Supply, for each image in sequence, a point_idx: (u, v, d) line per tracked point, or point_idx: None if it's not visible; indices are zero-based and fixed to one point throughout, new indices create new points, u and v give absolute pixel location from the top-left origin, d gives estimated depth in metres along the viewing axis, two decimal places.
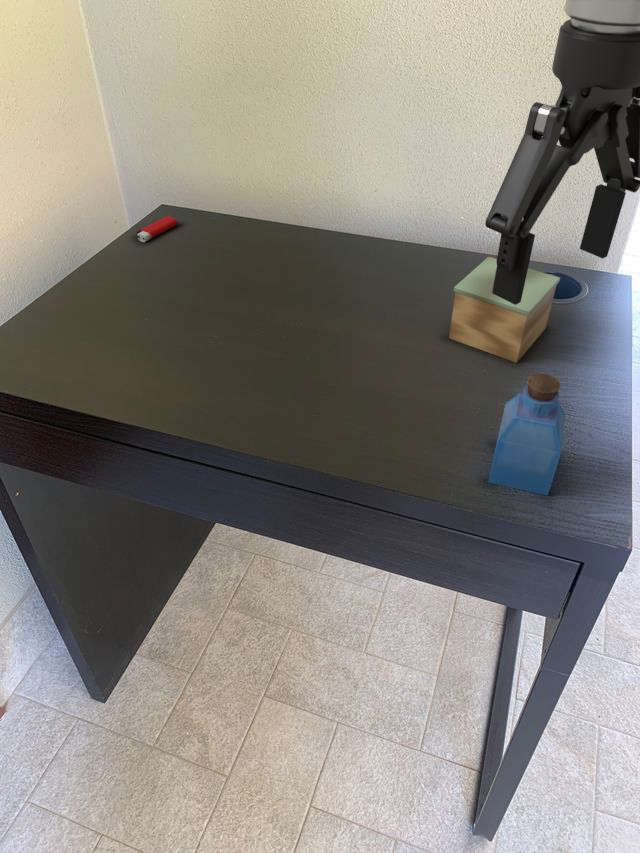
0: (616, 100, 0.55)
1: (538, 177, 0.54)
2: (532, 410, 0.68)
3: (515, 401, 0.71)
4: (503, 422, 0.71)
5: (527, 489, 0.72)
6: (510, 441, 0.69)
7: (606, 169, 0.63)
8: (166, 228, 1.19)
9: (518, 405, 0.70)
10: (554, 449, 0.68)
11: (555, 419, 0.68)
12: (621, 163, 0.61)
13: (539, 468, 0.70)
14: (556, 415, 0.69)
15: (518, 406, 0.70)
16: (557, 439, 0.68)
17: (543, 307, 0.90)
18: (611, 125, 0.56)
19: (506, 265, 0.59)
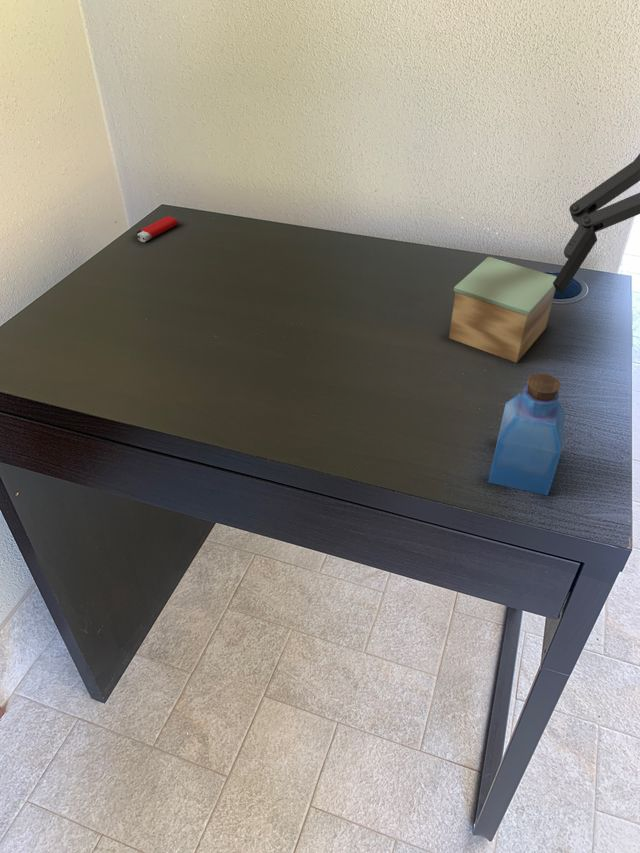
0: None
1: (614, 182, 0.70)
2: (532, 410, 0.68)
3: (515, 401, 0.71)
4: (503, 422, 0.71)
5: (527, 489, 0.72)
6: (510, 441, 0.69)
7: None
8: (166, 228, 1.19)
9: (518, 405, 0.70)
10: (554, 449, 0.68)
11: (555, 419, 0.68)
12: None
13: (539, 468, 0.70)
14: (556, 415, 0.69)
15: (518, 406, 0.70)
16: (557, 439, 0.68)
17: (543, 307, 0.90)
18: None
19: None
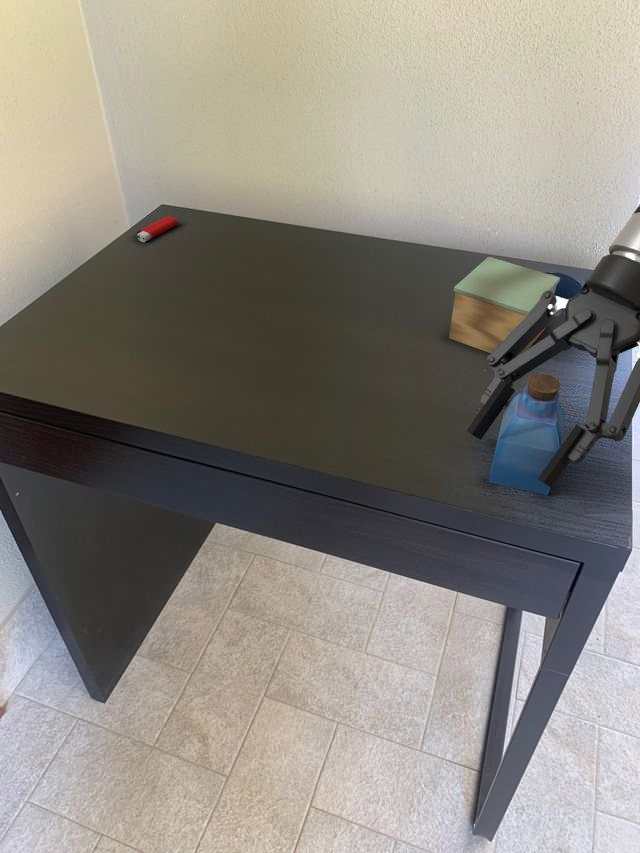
0: (619, 318, 0.67)
1: (521, 330, 0.72)
2: (532, 410, 0.68)
3: (515, 401, 0.71)
4: (503, 422, 0.71)
5: (527, 488, 0.72)
6: (510, 441, 0.69)
7: None
8: (166, 228, 1.19)
9: (518, 405, 0.70)
10: (554, 449, 0.68)
11: (555, 419, 0.68)
12: (594, 388, 0.67)
13: (539, 468, 0.70)
14: (556, 415, 0.69)
15: (519, 406, 0.70)
16: (557, 439, 0.68)
17: None
18: None
19: None
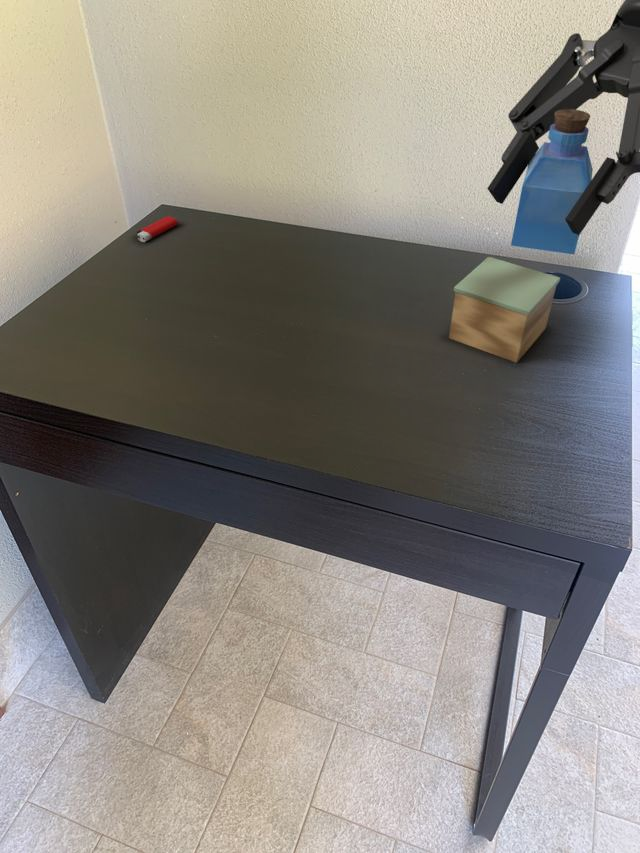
0: None
1: (546, 78, 0.68)
2: (559, 147, 0.63)
3: (540, 149, 0.66)
4: (527, 172, 0.66)
5: (552, 248, 0.68)
6: (535, 185, 0.65)
7: None
8: (166, 228, 1.19)
9: (544, 149, 0.65)
10: (583, 190, 0.64)
11: (584, 157, 0.64)
12: (626, 118, 0.62)
13: None
14: (585, 155, 0.64)
15: (544, 150, 0.65)
16: (586, 177, 0.63)
17: (543, 307, 0.90)
18: None
19: None
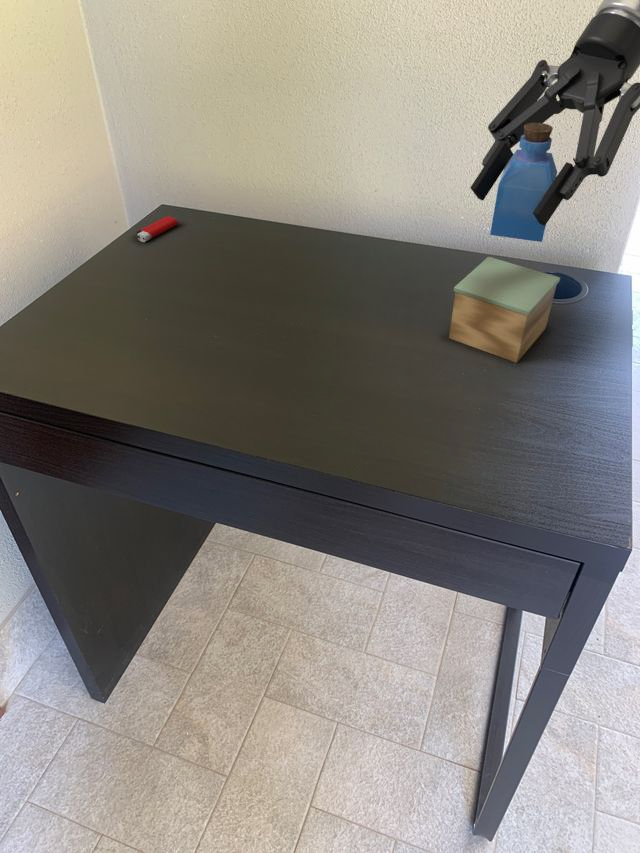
0: (604, 70, 0.77)
1: (519, 97, 0.82)
2: (528, 154, 0.78)
3: (513, 155, 0.81)
4: (503, 174, 0.81)
5: (524, 237, 0.82)
6: (509, 185, 0.79)
7: None
8: (166, 228, 1.19)
9: (516, 155, 0.80)
10: (547, 188, 0.78)
11: (548, 162, 0.78)
12: (582, 130, 0.76)
13: None
14: (549, 160, 0.78)
15: (516, 156, 0.79)
16: (550, 178, 0.78)
17: (543, 307, 0.90)
18: None
19: None
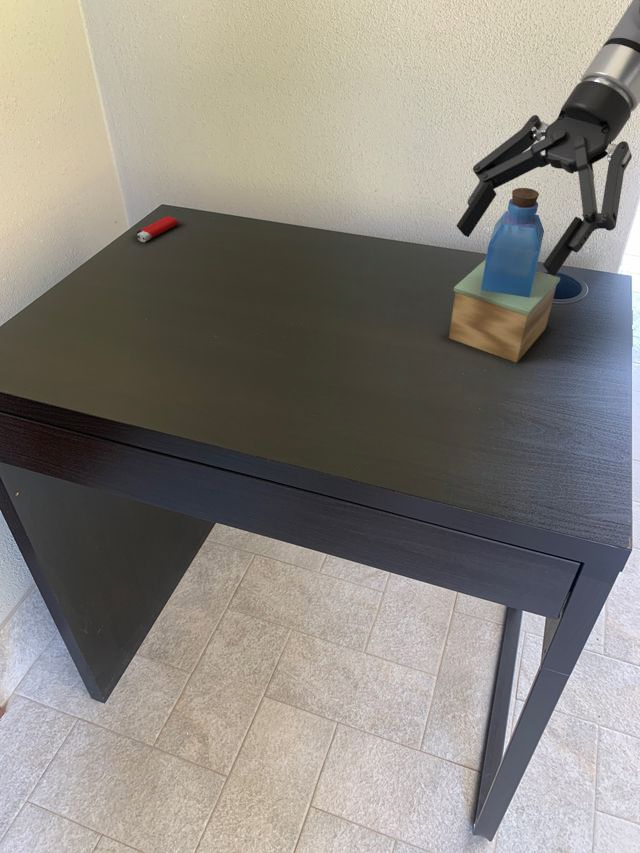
0: (585, 137, 0.81)
1: (506, 146, 0.87)
2: (516, 217, 0.83)
3: (503, 216, 0.86)
4: (492, 234, 0.86)
5: (513, 292, 0.87)
6: (498, 246, 0.84)
7: None
8: (166, 228, 1.19)
9: (505, 217, 0.84)
10: (534, 250, 0.83)
11: (535, 225, 0.83)
12: (582, 189, 0.80)
13: (522, 270, 0.85)
14: (536, 223, 0.83)
15: (505, 218, 0.84)
16: (536, 241, 0.82)
17: (543, 307, 0.90)
18: None
19: None
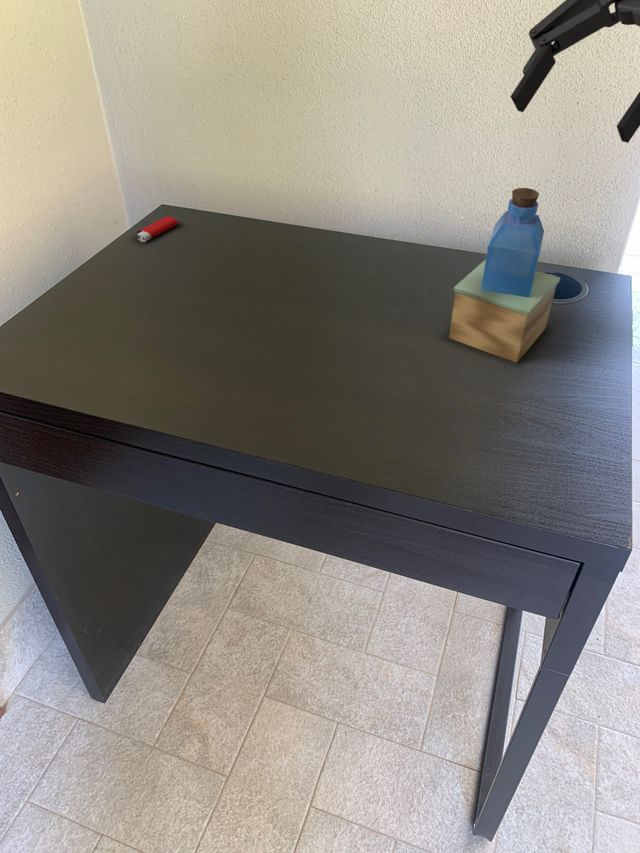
0: None
1: (568, 4, 0.76)
2: (516, 217, 0.83)
3: (503, 216, 0.86)
4: (492, 234, 0.86)
5: (513, 292, 0.87)
6: (498, 246, 0.84)
7: None
8: (166, 228, 1.19)
9: (505, 217, 0.84)
10: (534, 250, 0.83)
11: (535, 225, 0.83)
12: None
13: (522, 270, 0.85)
14: (536, 223, 0.83)
15: (505, 218, 0.84)
16: (536, 241, 0.82)
17: (543, 307, 0.90)
18: None
19: None
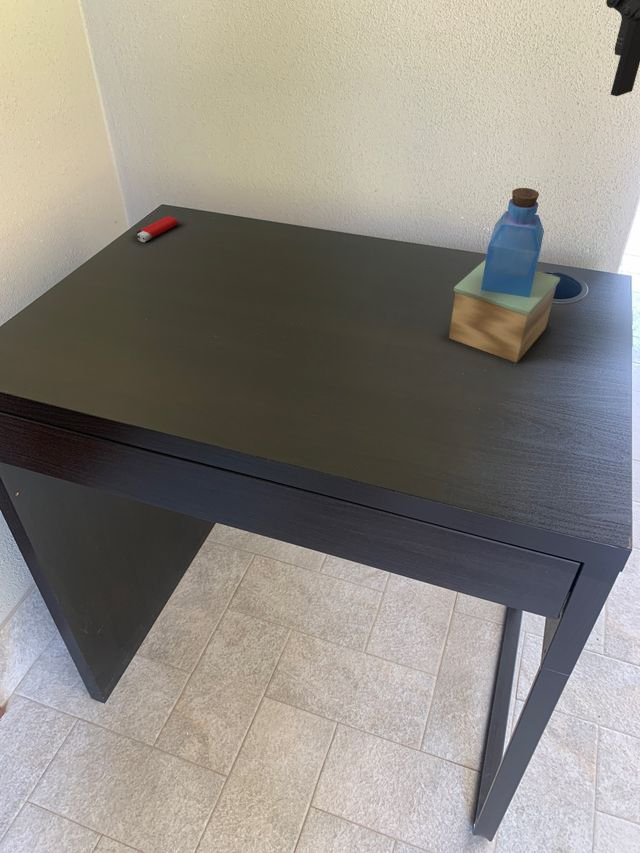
0: None
1: None
2: (516, 217, 0.83)
3: (503, 216, 0.86)
4: (492, 234, 0.86)
5: (513, 292, 0.87)
6: (498, 246, 0.84)
7: None
8: (166, 228, 1.19)
9: (505, 217, 0.84)
10: (534, 250, 0.83)
11: (535, 225, 0.83)
12: None
13: (522, 270, 0.85)
14: (536, 223, 0.83)
15: (505, 218, 0.84)
16: (536, 241, 0.82)
17: (543, 307, 0.90)
18: None
19: None
